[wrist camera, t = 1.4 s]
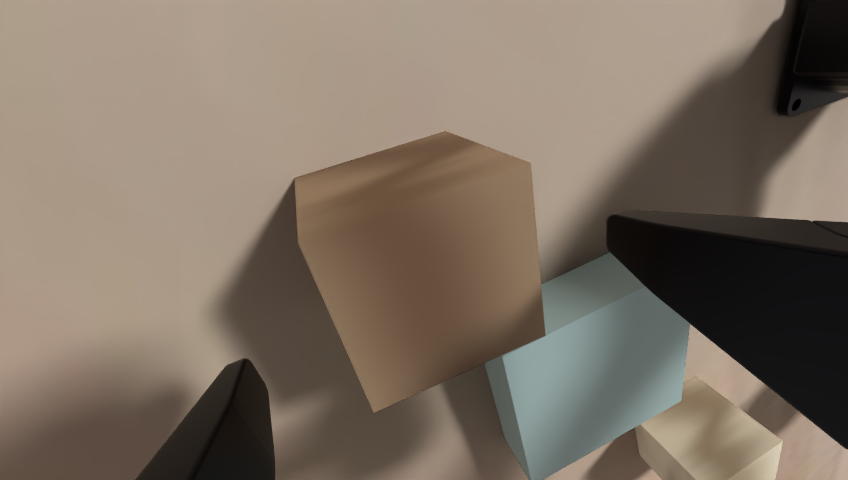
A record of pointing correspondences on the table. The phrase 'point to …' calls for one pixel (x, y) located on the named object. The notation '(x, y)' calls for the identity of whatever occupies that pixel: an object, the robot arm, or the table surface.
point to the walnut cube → (424, 260)
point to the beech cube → (707, 440)
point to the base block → (589, 367)
